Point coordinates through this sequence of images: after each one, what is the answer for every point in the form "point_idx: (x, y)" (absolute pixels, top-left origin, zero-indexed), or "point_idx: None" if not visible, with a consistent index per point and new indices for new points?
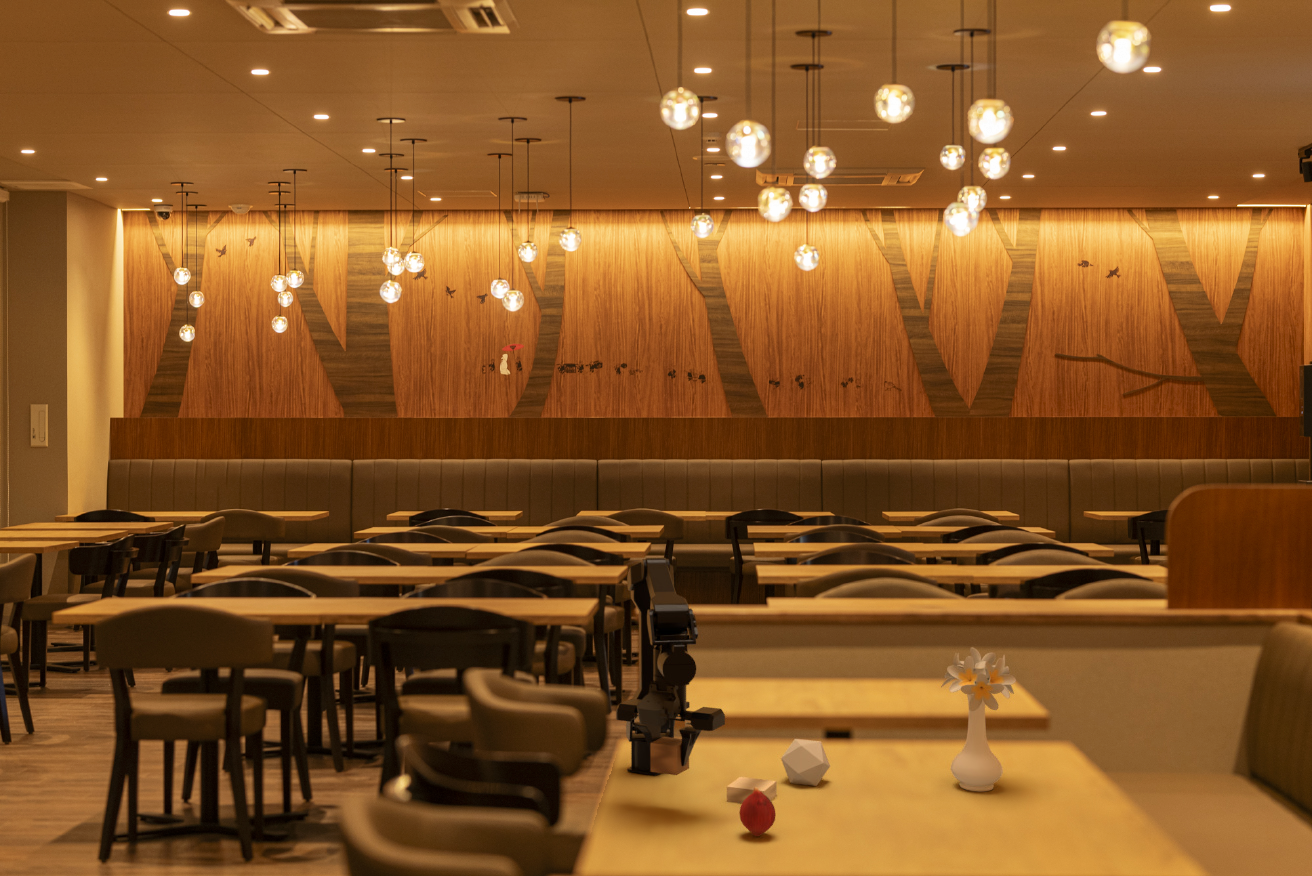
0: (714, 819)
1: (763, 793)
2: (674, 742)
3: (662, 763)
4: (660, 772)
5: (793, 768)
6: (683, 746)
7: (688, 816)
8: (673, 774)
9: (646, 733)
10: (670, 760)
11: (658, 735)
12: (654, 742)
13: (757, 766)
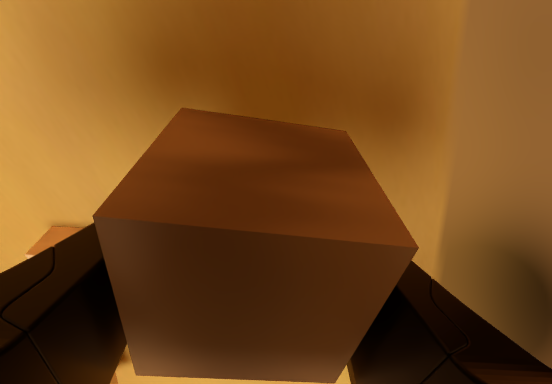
0: (89, 77)
1: (31, 250)
2: (195, 311)
3: (273, 144)
4: (285, 124)
5: None
6: (73, 262)
7: (182, 81)
8: (200, 110)
9: (510, 367)
10: (206, 149)
11: (369, 381)
12: (378, 270)
13: (205, 380)
